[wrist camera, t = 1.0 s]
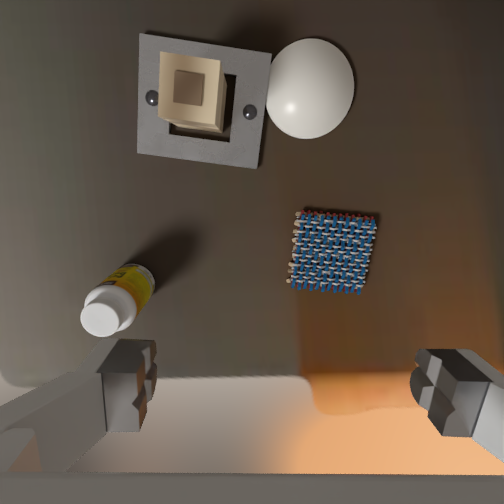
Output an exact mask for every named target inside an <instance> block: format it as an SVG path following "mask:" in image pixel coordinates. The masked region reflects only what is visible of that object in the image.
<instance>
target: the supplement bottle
mask: <svg viewBox="0 0 504 504" xmlns="http://www.w3.org/2000/svg"><path fill="white" fill-rule="evenodd" d="M154 289H155V281H154V278H153V276H152V274H151V273H150V272H149V270H147V269H146V268H145V267H143V266H141V265H137V264H127V265H124V266H122V267H120V268H119V269H117V270H116V271H115V272H114V273H113V274H111V275H110V276H109V277H108V278H107V279H105V280H104V281H103V282H102V283H100V284H99V285H98V286H97V287H96V288H94V289H93V290H92V291H91V292H90V293H89V294H88V296H87V298H86V300H85V305H84V309H83V310H82V313H81V323H82V325H83V327H84V328H85V329H86V330H87V331H88V332H89V333H91V334H92V335H95V336H99V337H106V336H110V335H112V334H114V333H115V332H116V331H121V330H123V329H125V328H127V327H128V326H129V325H130V324H131V323H132V322H133V321H134V319H135V318H136V317H137V315H138V314H139V312H140V311H141V310H142V308H143V307H144V305H145V304H146V303H147V301H148V300H149V298H150V297H151V296H152V294H153V292H154Z"/></svg>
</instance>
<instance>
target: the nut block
mask: <svg viewBox="0 0 504 504" xmlns="http://www.w3.org/2000/svg"><path fill="white" fill-rule="evenodd" d="M226 91H227V84H226V80H225V76H224V72H223V69H222V65H221V61H220V60H213V59H207V58H200V57H194V56H187V55H181V54H174V53H167V52H161V51H160V72H159V99H158V117H160V118H162V119H164V120H166V121H168V122H171V123H173V124H175V125H177V126H179V127H184V128H191V129H198V130H205V131H212V132H220V133H223V123H224V112H225V102H226Z"/></svg>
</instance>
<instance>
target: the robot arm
mask: <svg viewBox="0 0 504 504" xmlns="http://www.w3.org/2000/svg"><path fill="white" fill-rule="evenodd" d="M156 353H157V352H156V342H155V341H154V340H139V339H120V338H103V339H101V340H100V341H99V342H98V343H97V344H96V346H95V347H94V348H93V349H92V351H91V352H90V353H89V354H88V356H87V357H86V358H85V359H84V361H83V362H82V363H81V364H80V366H79V367H78V368H77V369H76V371H75V372H68V373H66V374H64V375H62V376H60V377H58V378H56V379H54V380H52V381H50V382H48V383H46V384H44V385H42V386H40V387H38V388H36V389H34V390H32V391H30V392H28V393H26V394H24V395H22V396H20V397H18V398H16V399H14V400H12V401H10V402H8V403H6V404H4V405H2V406H0V504H504V475H401V474H396V475H395V474H243V473H232V474H231V473H114V472H112V473H111V472H108V473H107V472H65V471H66V470H67V469H68V468H69V467H70V466H72V465H73V464H74V463H75V462H76V461H77V460H78V459H79V458H80V457H81V456H83V455H84V454H85V453H86V452H87V451H88V450H89V449H90V448H91V447H92V446H94V445H95V444H96V443H97V442H98V441H99V440H100V439H101V438H102V437H104V436H105V435H106V432H139V431H140V429H141V426H142V424H143V421H144V419H145V416H146V413H147V403H148V402H149V401H150V400H152V397H153V394H154V391H155V386H156V381H157V365H156V364H155V363H154V362H153V360H154V358H155V356H156ZM415 362H416V364H417V366H418V367H417V368H416V369H415V370H414V371H413V372H412V373H411V378H410V388H411V392H412V395H413V397H414V399H415V400H416V402H417V403H418V405H420V406H421V407H423V408H424V409H426V410H428V418H429V419H430V421H431V422H432V423H433V425H434V426H435V427H436V429H437V430H438V431H439V433H440V434H441V435H442V436H451V437H472V439H473V440H474V441H475V442H477V443H478V444H479V445H481V446H482V447H483V448H485V449H486V450H487V451H489V452H490V453H491V454H493V455H494V456H495V457H497V458H498V459H499V460H501V461H502V462H503V463H504V375H502V374H501V373H500V372H499V371H497V370H496V369H495V368H494V367H492V366H491V365H490V364H489V363H487V362H486V361H485V360H484V359H482V358H481V357H480V356H479V355H477V354H476V353H475V352H474V351H472V350H469V349H419V350H418V352H417V353H416V356H415Z"/></svg>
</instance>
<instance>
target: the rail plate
mask: <svg viewBox="0 0 504 504" xmlns="http://www.w3.org/2000/svg"><path fill="white" fill-rule="evenodd" d="M160 51H161V52H167V53H174V54H181V55H187V56H194V57H200V58H207V59H213V60H220V61H221V65H222V69H223V72H224V75H228V76H234V77H236V86H235V96H234V106H233V116H232V125H231V135H230V143H228V142H221V141H214V140H207V139H199V138H192V137H185V136H178V135H171V134H170V132H171V122H168V121H166V120H164V119H162V118H160V117H158V99H159V72H160ZM271 57H272V54H270V53H264V52H257V51H251V50H245V49H238V48H232V47H225V46H219V45H212V44H206V43H199V42H193V41H186V40H180V39H173V38H167V37H161V36H154V35H148V34H141V33H140V37H139V87H138V137H137V153H141V154H149V155H156V156H164V157H171V158H179V159H186V160H194V161H201V162H208V163H216V164H223V165H231V166H238V167H246V168H253V169H257V164H258V157H259V149H260V141H261V134H262V126H263V118H264V110H265V103H266V95H267V87H268V80H269V72H270V64H271Z"/></svg>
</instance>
